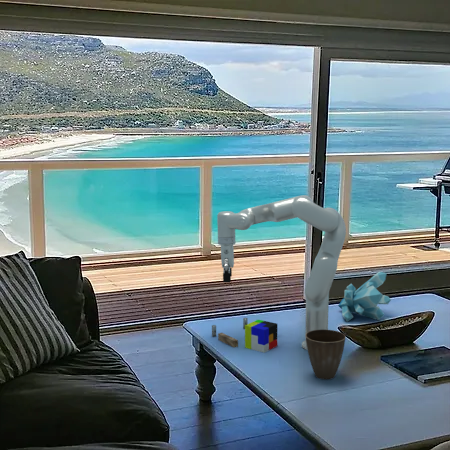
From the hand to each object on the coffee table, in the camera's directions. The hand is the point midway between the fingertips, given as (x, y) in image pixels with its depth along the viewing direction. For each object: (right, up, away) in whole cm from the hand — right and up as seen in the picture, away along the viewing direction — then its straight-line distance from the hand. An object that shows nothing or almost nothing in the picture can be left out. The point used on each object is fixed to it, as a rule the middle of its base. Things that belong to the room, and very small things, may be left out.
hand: (227, 279), depth 281 cm
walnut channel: (+8, -27, +8) cm, 29 cm away
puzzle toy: (+14, -29, -2) cm, 32 cm away
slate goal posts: (+1, -26, +17) cm, 31 cm away
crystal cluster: (+67, -22, +36) cm, 79 cm away
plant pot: (+37, -34, -33) cm, 60 cm away
